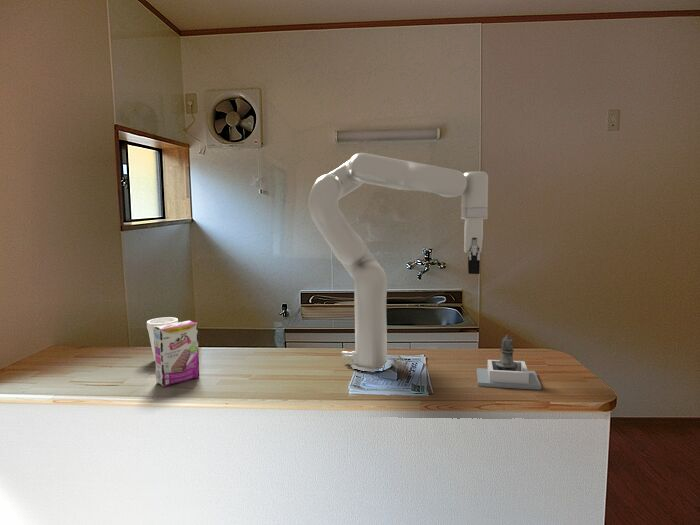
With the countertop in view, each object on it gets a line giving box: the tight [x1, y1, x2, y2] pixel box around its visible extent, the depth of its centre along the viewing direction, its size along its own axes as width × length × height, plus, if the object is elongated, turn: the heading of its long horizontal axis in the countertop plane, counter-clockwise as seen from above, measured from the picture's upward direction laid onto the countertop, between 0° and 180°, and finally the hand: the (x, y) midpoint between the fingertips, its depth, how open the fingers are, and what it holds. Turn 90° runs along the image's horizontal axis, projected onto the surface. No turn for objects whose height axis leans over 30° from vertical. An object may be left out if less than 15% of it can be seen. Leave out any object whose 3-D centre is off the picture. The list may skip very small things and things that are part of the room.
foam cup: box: [146, 316, 179, 361], centre depth 165 cm, size 10×9×13 cm
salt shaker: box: [496, 333, 518, 371], centre depth 140 cm, size 6×6×12 cm
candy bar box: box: [154, 320, 200, 388], centre depth 145 cm, size 11×5×16 cm, turn 134°
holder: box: [476, 359, 542, 390], centre depth 141 cm, size 16×12×4 cm
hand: (473, 271), depth 153 cm, fingers open, 9 cm apart
